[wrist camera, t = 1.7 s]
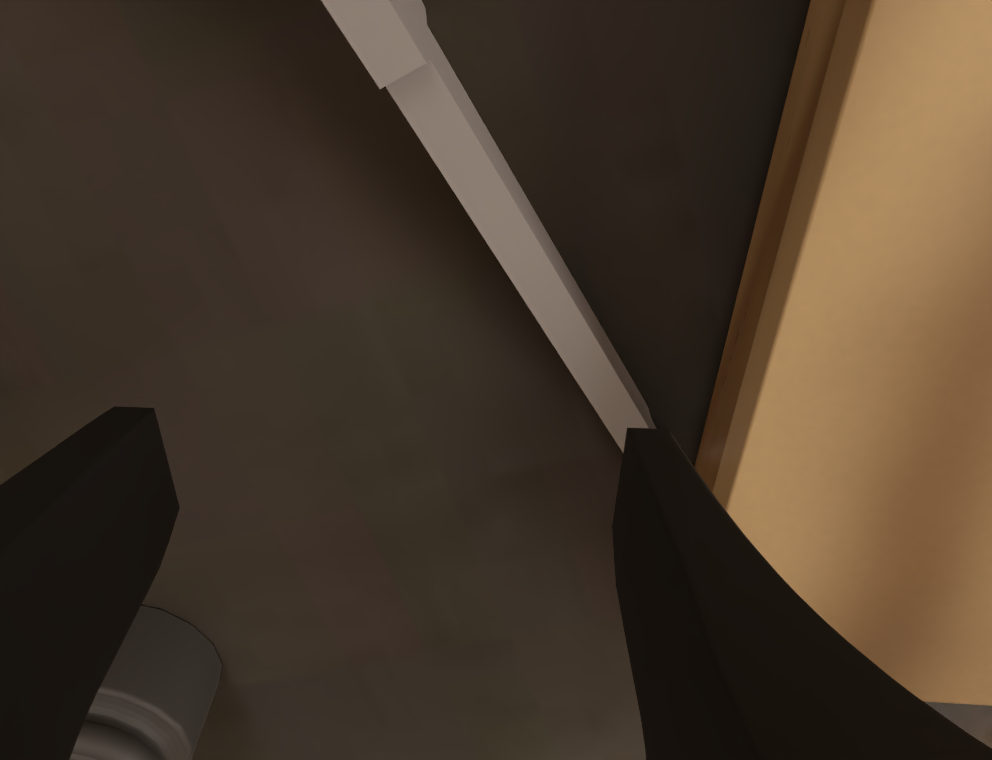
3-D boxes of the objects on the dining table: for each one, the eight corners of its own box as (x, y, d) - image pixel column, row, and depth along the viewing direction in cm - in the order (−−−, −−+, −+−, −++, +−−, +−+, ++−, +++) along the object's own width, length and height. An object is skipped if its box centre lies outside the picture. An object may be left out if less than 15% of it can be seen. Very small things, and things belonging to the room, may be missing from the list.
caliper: (189, -343, 15) (3, -434, 9) (238, -382, 14) (74, -499, 9) (635, 454, 24) (664, 625, 19) (670, 441, 24) (709, 610, 19)
